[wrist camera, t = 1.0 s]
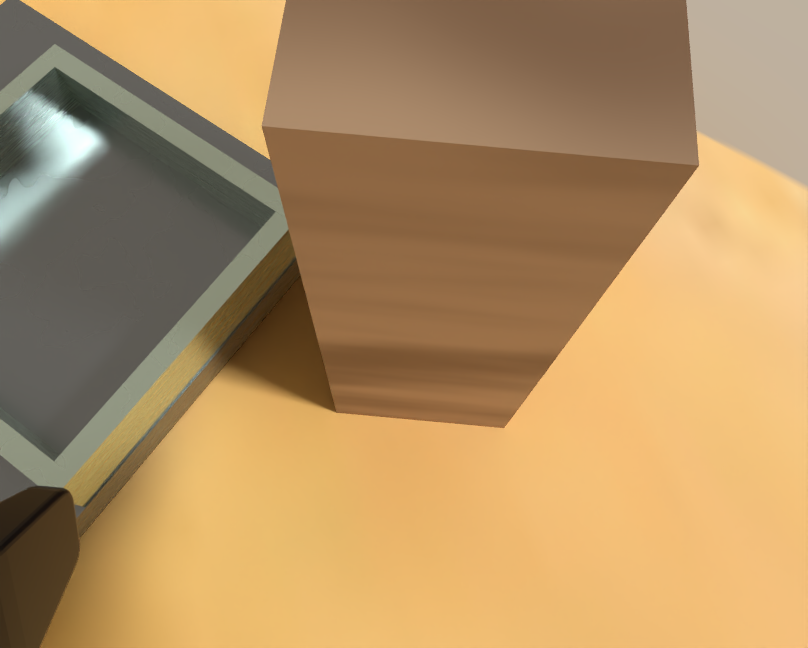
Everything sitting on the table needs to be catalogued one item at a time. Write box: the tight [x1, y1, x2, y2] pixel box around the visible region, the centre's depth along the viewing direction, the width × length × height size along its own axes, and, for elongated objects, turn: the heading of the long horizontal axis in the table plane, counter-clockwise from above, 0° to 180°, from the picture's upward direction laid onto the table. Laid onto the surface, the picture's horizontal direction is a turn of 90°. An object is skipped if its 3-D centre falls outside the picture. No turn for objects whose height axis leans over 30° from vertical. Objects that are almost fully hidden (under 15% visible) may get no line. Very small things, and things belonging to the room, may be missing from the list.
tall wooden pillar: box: [262, 0, 699, 428], centre depth 17 cm, size 6×6×15 cm
